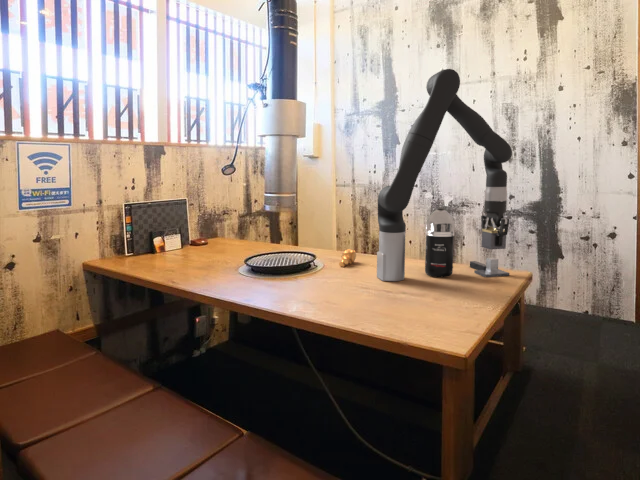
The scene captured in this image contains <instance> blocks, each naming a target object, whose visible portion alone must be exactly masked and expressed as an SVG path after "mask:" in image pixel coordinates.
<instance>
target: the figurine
mask: <svg viewBox="0 0 640 480" xmlns="http://www.w3.org/2000/svg"><path fill="white" fill-rule="evenodd" d="M356 259H357V252H356V250H354V249H352V248H346V249H344V251H343V252H342V254H341V261H340V262H338V265H339V266H340V267H341V268H344V267H345V266H347V265H349V264H350V265H352V263H354V262H355V261H356Z"/></svg>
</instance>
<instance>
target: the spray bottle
mask: <svg viewBox="0 0 640 480" xmlns="http://www.w3.org/2000/svg"><path fill="white" fill-rule="evenodd" d="M455 224H456V223H455V219H454V218H453V216H452V215H451V213H449V212H448V211H447V210H446V209H444V208H443V207H438V208H437V209H435V211H433V212H431V214H430V215H429V216H428V218H427V219H426V221H425V225H426V227H425V256H424V260H425V261H424V273H425V275H427V276H429V277H432V278H448V277H450V276H452V274H453V271H454V270H453V267H454V245H455V244H454V243H455V226H456V225H455Z"/></svg>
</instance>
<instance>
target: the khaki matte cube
mask: <svg viewBox="0 0 640 480" xmlns="http://www.w3.org/2000/svg"><path fill="white" fill-rule="evenodd" d="M498 231H499V232H500V230H498ZM503 231H505V229H503ZM480 247H481V248H484V249H488V250H491V251H492V250H505V249H506V247H507V235H504V236H503V242H502V246H500V247H497V246H496V231H495V230H494V229H482V228H481V246H480Z"/></svg>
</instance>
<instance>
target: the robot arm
mask: <svg viewBox="0 0 640 480" xmlns="http://www.w3.org/2000/svg"><path fill="white" fill-rule="evenodd" d="M460 85H461V78H460V75H459V73H458V72H457V70H454V69H452V68H445V69H442V70H440V71H438V72H435V73H434V74H432V75H431V76H430V77H429V78H428V80H427V82H426V87H425V88H426V93H427V94H428V96H429V97H428V100H427V103H426V105H425V106H424V108H423V109H422V111H421V113H420V114H418V117H417V118H416V119H415V121H414V122H413V123H412V125H411V127H410V129H409V131H408V134H407V135H406V138H405V139H404V142H403V144H402V148H401V152H400V158H399V165H398V168H397V172H396V174H395V176H394V178H393V180H392V181H391V184H390V185H387V186H384V187H382V188H381V190H380V191H379V192H378V197H377V222H378V226H379V228H378V230H379V233H378V234H379V235H378V237H379V238H378V239H379V240H378V251H377V252H376V277H377V278H378V279H379V280H380V281H382V282H384V281H385V282H386V281H387V282H399V281H400V282H401V281H403V280H405V274H406V273H405V271H406V270H405V268H406V266H405V265H406V233H407V231H406V230H407V229H406V228H407V227H406V225H407V224H406V223H405V220H404V217H403V214H404V213H403V212H404V210H405V209H406V208H407V206H408V205H409V203H410V202H411V201H410V200H411V198H412V194H413V191H414V187H415V185H416V182H417V179H418V177H419V175H420V173H421V170H422V168H423V167H424V164H425V162H426V160H427V157H428V155H429V154H430V151H431V149H432V147H433V144H434V142H435V139H436V137H437V135H438V133H439V130H440V128H441V127H442V122H443V120H444V118H445V115H446V114H447V113H448V114H449V115H451V117H453V119H454V120H455V121H456V122H457V123H458V124H459V125H460V127H462V129H463V130H464V131H465V132H466V133H467V134H468V136H469V137H470V138H471V139H472V141H473V142H474V143H475V144H476V145H477V146H480V147H483V148H484V149H485V150H484V152H483V163H484V169H485V174H486V175H485V176H486V178H485V190H484V203H483V204H484V205H483V211H484V213H486V215H485V214H484V215H483V214H482V215H481V216H480V218H481V220H480V221H481V230H482V229H494V230H495V231H496V246H497V247H500V246H502V242H503V236H504V235H506V236H507V235H508V231H509V224H510V219H509V218H505V217H504V213H506V212H507V204H508V203H507V202H508V201H507V200H508V191H507V188H508V187H507V185H508V173H507V172H506V171H505V170H504V169H503V164H504V163H507V162H509V161H510V160H511V158H512V157H513V150H512V146H511V145H510V144H509V143H508V142H507V141H506V140H505V138H503V137H502V136H501V135H499V133H496V132H495V131H494V130H493V128H492V127H491V126H490V125H489V123H488V122H487V121H486V120H485V119H484V117H483V116H482V115H481V114H480V113H478V112H477V111H476V110H474V109H472V108H471V107H470V106H468V105H467V104H466V103H465V102H464V101H463V100H462V99H461V98H460V97H459V95H458V92H459V89H460ZM498 230H500V232H499V231H498ZM503 230H505V231H503Z"/></svg>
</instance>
